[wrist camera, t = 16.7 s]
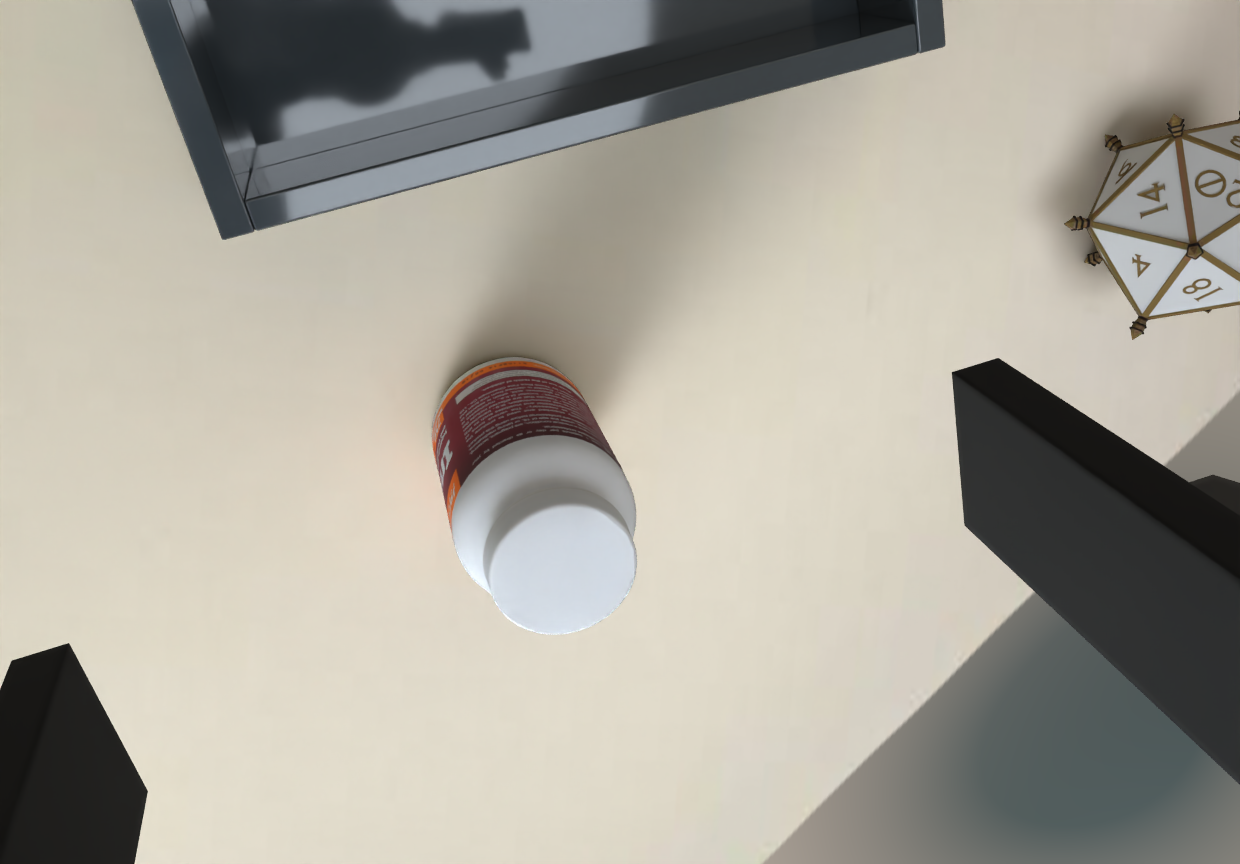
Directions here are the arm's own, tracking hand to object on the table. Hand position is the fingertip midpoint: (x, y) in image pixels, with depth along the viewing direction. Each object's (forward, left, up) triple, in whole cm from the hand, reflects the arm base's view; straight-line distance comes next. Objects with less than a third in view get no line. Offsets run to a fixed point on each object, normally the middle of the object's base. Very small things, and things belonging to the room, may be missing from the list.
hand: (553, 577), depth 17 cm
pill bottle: (+1, -10, -27) cm, 29 cm away
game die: (+28, -8, -27) cm, 40 cm away
